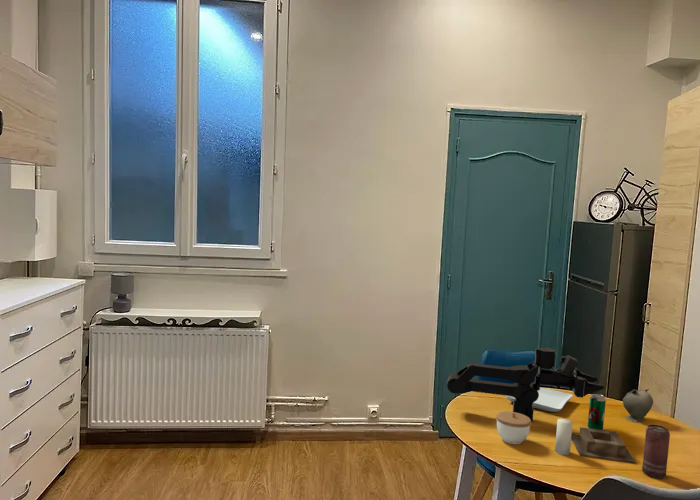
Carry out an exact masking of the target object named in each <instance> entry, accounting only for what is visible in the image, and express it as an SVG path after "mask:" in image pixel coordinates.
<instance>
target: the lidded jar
mask: <svg viewBox="0 0 700 500" xmlns="http://www.w3.org/2000/svg"><path fill="white" fill-rule="evenodd" d="M531 421H532V420H530V418H529V417H527V416H525V415H523V414H520V413H516V412H513V411H500V412H498V413H497V414H496V430H497V432H498V433H497V434H498V435H499V437H500V438H501V439H502V441H503V442H504V443H507V444H510V445H520V444H522V443H523V442H524V441H525V440H526V439H527V438H528V436H529V434H530V428H531Z"/></svg>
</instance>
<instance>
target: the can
mask: <svg viewBox="0 0 700 500" xmlns="http://www.w3.org/2000/svg"><path fill="white" fill-rule="evenodd" d="M644 434H645V435H644V436H645V437H644V446H643V447H644V448H643V456H642V457H643V458H642V467H641V471H642V473H643V474H644V475H645V476H647V477H649V478H652V479H655V480H656V479H657V480H662V479H663V480H664V478H665V477H667V468H668V457H669V447H670V445H669V444H670V437H671V433H670V430H669V429H668V428H666V427H665V426H661V425H658V424H648V425H647V426H646V428H645V433H644Z"/></svg>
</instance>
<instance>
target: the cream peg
mask: <svg viewBox="0 0 700 500" xmlns="http://www.w3.org/2000/svg"><path fill="white" fill-rule="evenodd" d="M556 421H557V423H556V435H555V445H554V452H555V453H556V454H558V455H561V456H569V455H571V444H572V438H571V435H572V434H573V421H572V420H569V419H567V418H558V419H557V420H556Z"/></svg>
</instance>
